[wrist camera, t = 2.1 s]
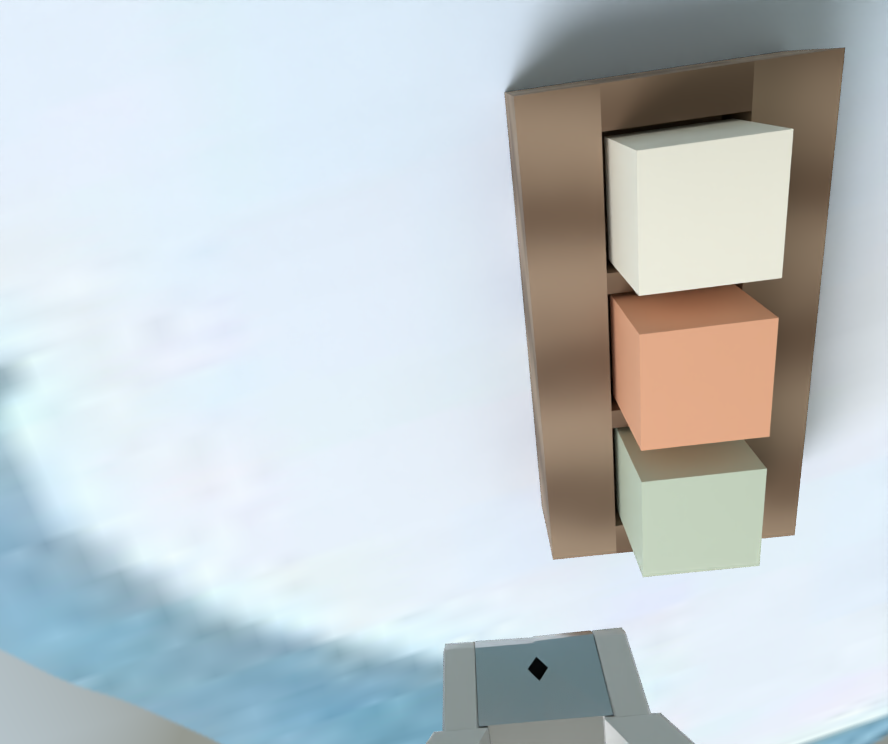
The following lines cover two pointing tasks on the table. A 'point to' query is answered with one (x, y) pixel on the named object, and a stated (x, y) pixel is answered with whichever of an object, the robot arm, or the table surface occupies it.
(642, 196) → the cream key
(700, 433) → the terracotta key
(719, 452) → the sage key
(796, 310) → the board
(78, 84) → the table surface
